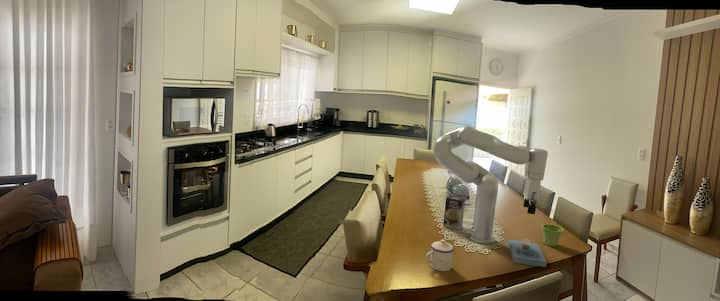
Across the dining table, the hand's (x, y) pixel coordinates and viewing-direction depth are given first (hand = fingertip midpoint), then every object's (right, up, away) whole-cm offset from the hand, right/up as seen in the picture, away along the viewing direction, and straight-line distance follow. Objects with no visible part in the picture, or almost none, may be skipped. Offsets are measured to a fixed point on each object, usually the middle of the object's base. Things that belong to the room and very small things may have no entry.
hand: (528, 210), depth 179 cm
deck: (-4, -19, -6) cm, 21 cm away
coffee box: (-30, -13, +24) cm, 41 cm away
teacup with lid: (-48, -20, -22) cm, 56 cm away
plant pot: (+14, -18, +8) cm, 24 cm away
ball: (-3, -14, -5) cm, 16 cm away
